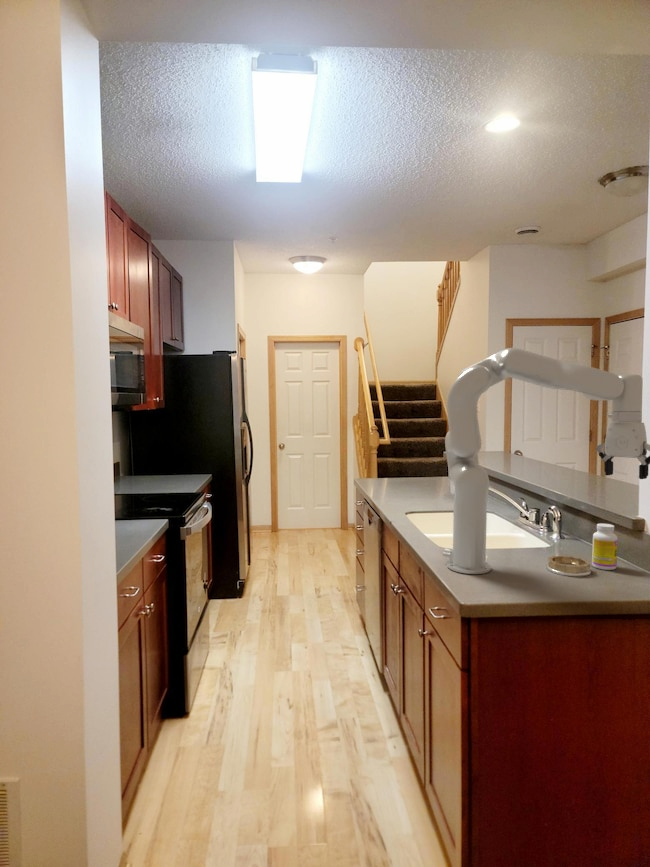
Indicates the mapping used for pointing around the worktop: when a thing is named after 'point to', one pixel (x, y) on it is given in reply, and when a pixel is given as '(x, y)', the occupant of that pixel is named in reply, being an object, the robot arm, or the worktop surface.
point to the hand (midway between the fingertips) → (625, 476)
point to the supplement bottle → (604, 547)
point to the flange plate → (568, 566)
